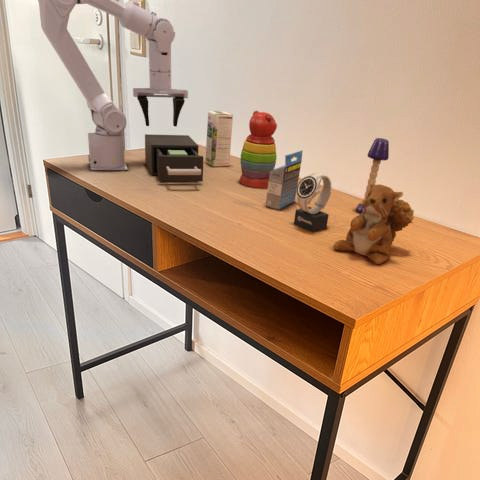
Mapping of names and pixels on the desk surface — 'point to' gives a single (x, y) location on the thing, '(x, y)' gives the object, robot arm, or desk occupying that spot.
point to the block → (177, 152)
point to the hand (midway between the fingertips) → (161, 125)
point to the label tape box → (284, 182)
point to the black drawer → (178, 165)
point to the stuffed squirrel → (377, 224)
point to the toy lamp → (375, 163)
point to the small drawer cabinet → (165, 146)
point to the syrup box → (218, 138)
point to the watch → (306, 192)
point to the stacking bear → (259, 151)
